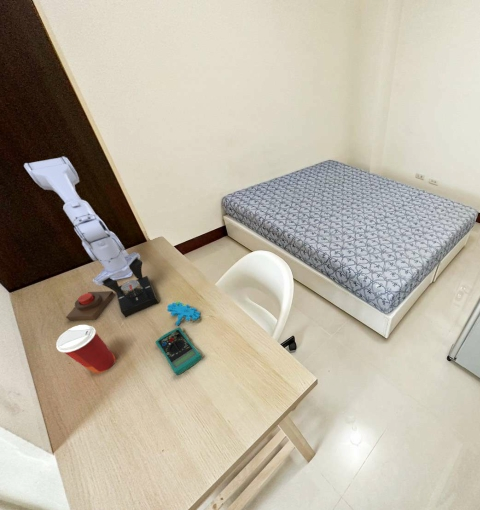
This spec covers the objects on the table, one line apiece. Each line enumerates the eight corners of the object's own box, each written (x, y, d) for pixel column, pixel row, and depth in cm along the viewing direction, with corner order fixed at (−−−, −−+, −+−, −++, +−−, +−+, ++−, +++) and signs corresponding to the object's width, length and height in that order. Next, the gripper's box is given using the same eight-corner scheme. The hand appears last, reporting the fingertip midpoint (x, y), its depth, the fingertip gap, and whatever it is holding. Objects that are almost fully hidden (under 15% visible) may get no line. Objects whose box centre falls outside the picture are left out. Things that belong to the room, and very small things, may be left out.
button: (85, 296, 89) (82, 293, 88) (96, 296, 89) (94, 292, 88) (78, 305, 86) (75, 301, 85) (90, 304, 87) (86, 301, 85)
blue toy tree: (205, 318, 86) (172, 314, 78) (196, 334, 86) (163, 331, 78) (195, 302, 93) (165, 296, 85) (187, 316, 93) (156, 312, 85)
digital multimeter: (181, 329, 84) (178, 324, 82) (203, 359, 77) (200, 353, 75) (157, 344, 80) (152, 339, 78) (177, 377, 72) (173, 372, 70)
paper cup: (122, 348, 79) (96, 319, 70) (116, 371, 73) (86, 343, 64) (91, 356, 76) (60, 328, 67) (82, 381, 71) (46, 353, 62)
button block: (91, 296, 94) (85, 288, 91) (115, 295, 95) (109, 287, 92) (69, 321, 85) (62, 313, 83) (96, 320, 86) (89, 312, 84)
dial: (125, 291, 92) (119, 283, 90) (142, 284, 95) (137, 277, 92) (127, 300, 89) (121, 292, 87) (144, 293, 92) (139, 285, 89)
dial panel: (119, 293, 95) (115, 287, 93) (150, 281, 100) (146, 275, 99) (125, 317, 87) (120, 311, 85) (159, 303, 92) (155, 297, 90)
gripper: (96, 273, 75) (120, 303, 84) (139, 244, 86) (156, 274, 94) (78, 268, 76) (103, 298, 85) (122, 240, 87) (141, 270, 96)
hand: (130, 285), depth 90 cm, fingers open, 7 cm apart
